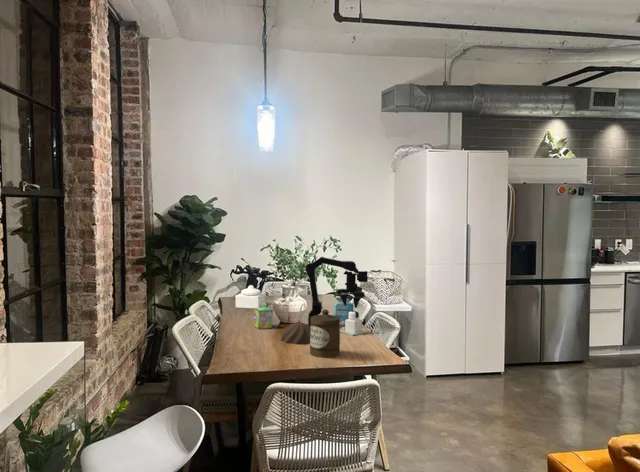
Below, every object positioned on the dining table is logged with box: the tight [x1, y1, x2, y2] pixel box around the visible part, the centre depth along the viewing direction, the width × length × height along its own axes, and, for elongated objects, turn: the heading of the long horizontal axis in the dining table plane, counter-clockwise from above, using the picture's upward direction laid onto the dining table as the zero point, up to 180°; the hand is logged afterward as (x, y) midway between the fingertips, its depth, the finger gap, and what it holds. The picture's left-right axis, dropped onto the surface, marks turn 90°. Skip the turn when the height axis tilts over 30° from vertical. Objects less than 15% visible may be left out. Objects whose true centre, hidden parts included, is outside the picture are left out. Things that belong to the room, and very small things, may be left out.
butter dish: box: [234, 284, 266, 309], centre depth 370 cm, size 18×18×16 cm
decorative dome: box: [280, 321, 311, 345], centre depth 271 cm, size 19×20×10 cm
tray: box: [340, 329, 367, 336], centre depth 290 cm, size 11×11×1 cm
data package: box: [333, 302, 355, 322], centre depth 322 cm, size 12×4×12 cm, turn 101°
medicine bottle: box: [344, 310, 363, 333], centre depth 290 cm, size 7×7×12 cm
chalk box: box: [253, 302, 274, 330], centre depth 299 cm, size 9×9×15 cm
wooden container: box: [309, 309, 341, 358], centre depth 244 cm, size 15×15×22 cm
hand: (350, 306), depth 303 cm, fingers open, 9 cm apart
